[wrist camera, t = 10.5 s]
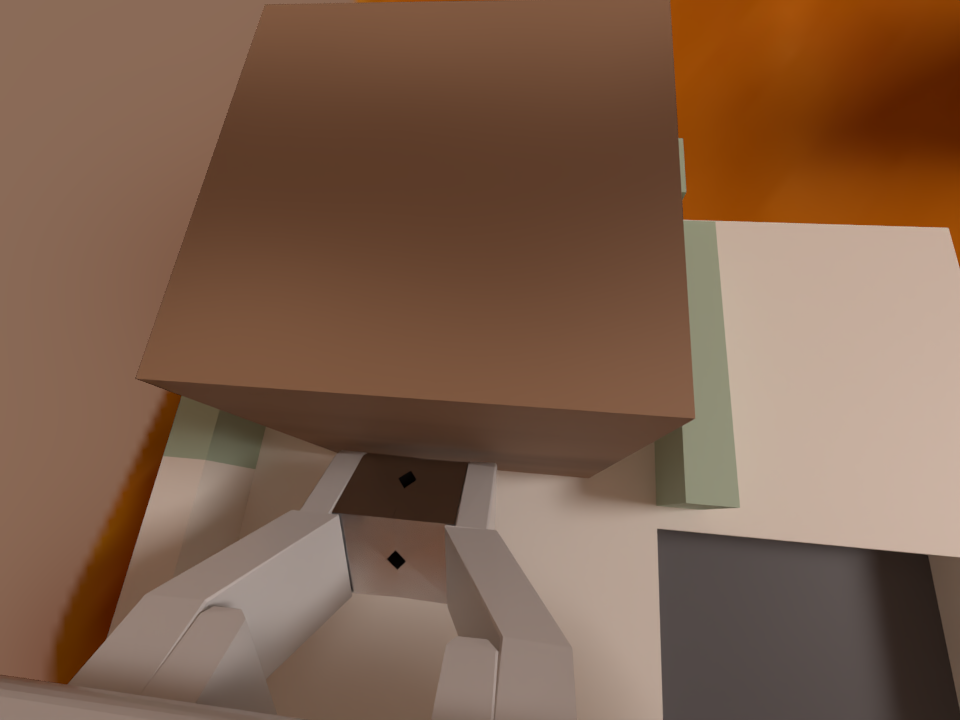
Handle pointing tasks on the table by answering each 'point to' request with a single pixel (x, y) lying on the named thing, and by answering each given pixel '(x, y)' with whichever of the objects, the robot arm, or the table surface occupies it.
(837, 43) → the table surface
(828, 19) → the table surface
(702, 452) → the box
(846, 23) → the table surface
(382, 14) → the walnut block
